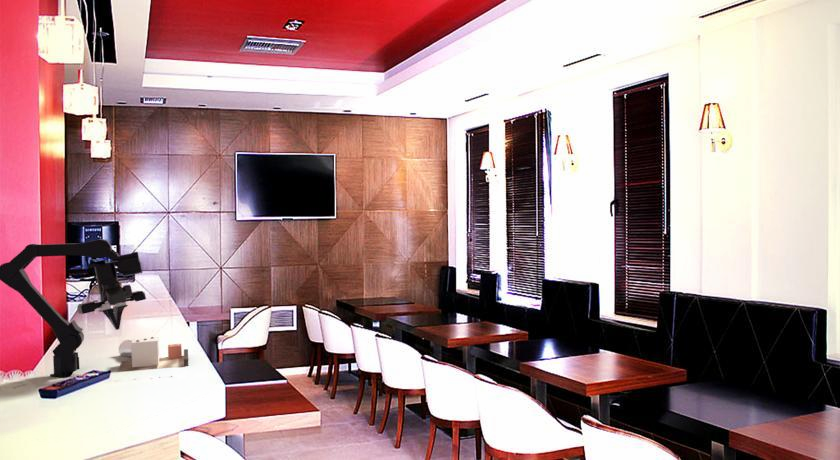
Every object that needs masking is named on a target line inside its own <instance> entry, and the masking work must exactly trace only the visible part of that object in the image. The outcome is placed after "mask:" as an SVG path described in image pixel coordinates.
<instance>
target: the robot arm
mask: <svg viewBox="0 0 840 460" xmlns="http://www.w3.org/2000/svg"><path fill="white" fill-rule="evenodd" d="M66 256H68V257H69V256H70V257H71V256H74V257H75V256H79V257H86V258H92V259H90V261H89V263H88V265H86V268H88V269H91V268H94V272H95V276H96V282H97V289H98V292H99V296H100V297H99V299H100V301H97V302H95V301H87V302H82V303H79V304H78V305H77V312H78V314H81V315H82V314H83V315H84V314H89V313H93V312H95V311H96V310H97V309H98V312H99V313H103V314H104V315H105V316H106V318H108V320H109V322H110V323H111V325H112V326H113V328H114V330H116V331H117V330H120V326H121V322H122V314H123V311H125V310H124V309H125V308H126V307H128V306H129V305H128V304H126V303H127V302H140V301H145V300H147V297H146V293H145V292H144V291H143V290H136V291H135V290H134V291H133V290H132V285H130V284H125V285H123V286H121V283H120V281H119V279H118V275H122V276H123V277H128V276H133V275H134V276H135V275H138V274H143V268H142V267H143V266H142V262H141V260H140V256H139V252H138V251H134V252H131V253H126V254H121V255H120V254H119V253H118V252H117V251H115V249H113V247H112V244H111V242H109V241H108V239H104V238H99V239H95V240H90V241H83V242H78V243H48V244H47V243H45V244H44V243H43V244H42V243H41V244H40V243H39V244H37V243H30V244H27V245H26V246H25V247H24V248H23V250H21V251H20V252H19V253H18V254H17V255H15V256H14V257H13V258H12V259H11V260H10V261H8V262H4V263H2V264H0V281H1V282H3V284H5V285H6V286H7V287H9V288H11V289H13V290H14V291H16V292H17V293H19V294H20V295H21V296H22V298H23V299H24V300H25V301H26V302H27V303H28V304H29V305H30V307H32V308H33V309H34V310H35V312H36V313H37V314H38V315H39V316H40V317H41V318H42V319H43V321H45V322H46V323H47V325H49V327H50V328H51V329H52V331H53V333H54V335H55V337H56V339H57V342H59V343H58V344H57V345H56V346H55V347H54V349H53V350H52V353H53V357H52V360H53V373H51V374H49V376H50V377H59V378H67V377H72V375H73V374H74V372H76V371H77V370H80V357H79V352H78V351H77V349H78V348H80V346H81V345H82V344H83V342H84V340H85V334H84V332H83V330H84V328H82V327H80V326H79V325H78V324H77V322H76V320H75V319H73V320H72V321H71V322H69V321H68V320H67V319H65V318H64V317H63V316H62V315H61V314H60V313H59V312H58V311H57V310H56V308H55V307H54V306H53V305H52V304H51V303H50V302H49V301H48V300H47V298H46V297H44V296H43V294H42V293H41V292H40V291H39V290H38V289H37V288H36V287H35V286H34V285H33V283H32V281H31V279H30V278H29V275H28V273H27V272H26V270H25V269H26V268H27V267H28V266H29V265H30V264H31V263H32V262H33V261H34V260H35V259H36V258H39V257H40V258H41V257H66ZM93 258H94V259H93ZM95 259H99V260H95ZM100 259H101V260H100ZM106 259H109V260H110V262H109V261H108V262H107V260H106ZM113 260H115V261H113ZM116 266H117V269H116ZM117 272H118V274H117ZM76 351H77V352H76Z"/></svg>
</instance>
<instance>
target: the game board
mask: <svg viewBox="0 0 840 460" xmlns="http://www.w3.org/2000/svg"><path fill="white" fill-rule="evenodd" d="M181 367H189V349H185V348H184V349H183V355H182V358H177V359H168V356H166V357H165V356H163V357H159V365H155V366H143V367H132V359H130V360H129V359H127V360H121V363H120V365H119V368H118V369H117V373H124V372H134V371H135V372H136V371H145V370H147V371H148V370H158V369H159V370H160V369H168V368H169V369H170V368H181Z"/></svg>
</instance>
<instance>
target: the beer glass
mask: <svg viewBox="0 0 840 460" xmlns="http://www.w3.org/2000/svg"><path fill="white" fill-rule="evenodd" d="M132 340H133V339H132ZM132 340H131V339H126V340H124V341H123V340H122V342H121V343H120V344H119V346H118V353H119V356H121V357H129V358H132V349H131V342H132Z"/></svg>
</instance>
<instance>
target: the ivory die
mask: <svg viewBox="0 0 840 460" xmlns="http://www.w3.org/2000/svg"><path fill="white" fill-rule="evenodd" d="M159 340H160V339H159V336H155V337H154V336H151V337H142V338H141V337H139V338H132V342H131V349H132V357H131V360H132V367H143V366H155V365H159V358H160V345H159Z"/></svg>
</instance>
